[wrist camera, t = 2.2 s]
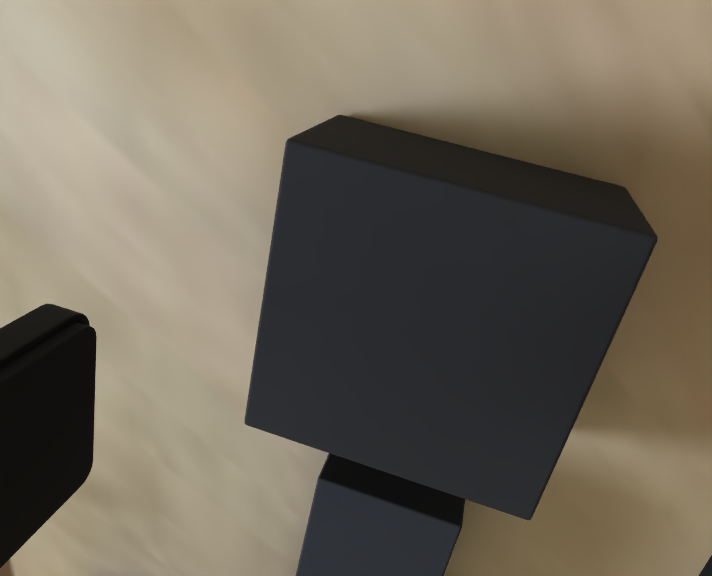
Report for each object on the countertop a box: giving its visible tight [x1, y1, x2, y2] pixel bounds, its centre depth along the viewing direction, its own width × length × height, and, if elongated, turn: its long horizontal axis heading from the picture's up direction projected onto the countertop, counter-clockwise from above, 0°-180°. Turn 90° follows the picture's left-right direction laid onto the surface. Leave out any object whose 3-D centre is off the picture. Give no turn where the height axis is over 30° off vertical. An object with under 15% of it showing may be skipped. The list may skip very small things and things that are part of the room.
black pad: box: [245, 115, 657, 520], centre depth 13 cm, size 7×7×4 cm
